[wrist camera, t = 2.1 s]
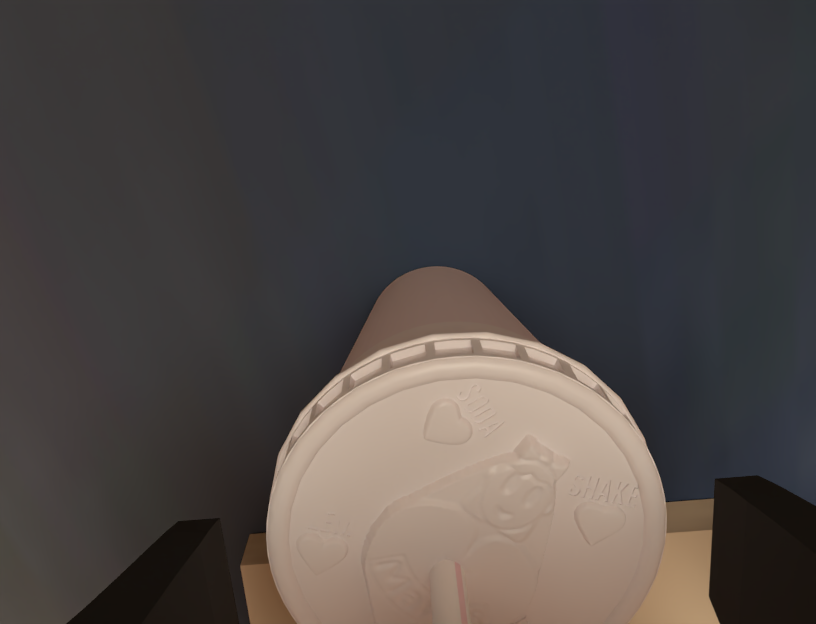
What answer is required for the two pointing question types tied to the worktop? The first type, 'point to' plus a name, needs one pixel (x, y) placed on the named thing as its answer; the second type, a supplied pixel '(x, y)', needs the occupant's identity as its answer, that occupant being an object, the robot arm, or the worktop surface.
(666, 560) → the base board
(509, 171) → the worktop surface
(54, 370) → the worktop surface
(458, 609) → the smoothie
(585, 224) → the worktop surface
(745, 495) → the robot arm
